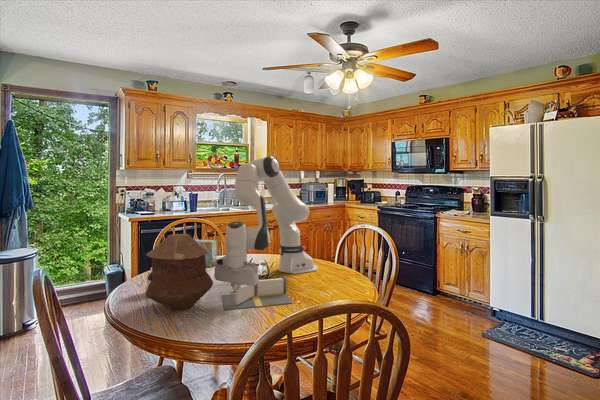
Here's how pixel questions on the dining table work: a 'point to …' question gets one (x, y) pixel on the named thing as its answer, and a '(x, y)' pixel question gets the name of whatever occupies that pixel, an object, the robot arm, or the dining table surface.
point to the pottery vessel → (178, 273)
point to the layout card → (256, 301)
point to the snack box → (209, 251)
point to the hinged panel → (243, 293)
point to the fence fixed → (270, 286)
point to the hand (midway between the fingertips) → (236, 293)
